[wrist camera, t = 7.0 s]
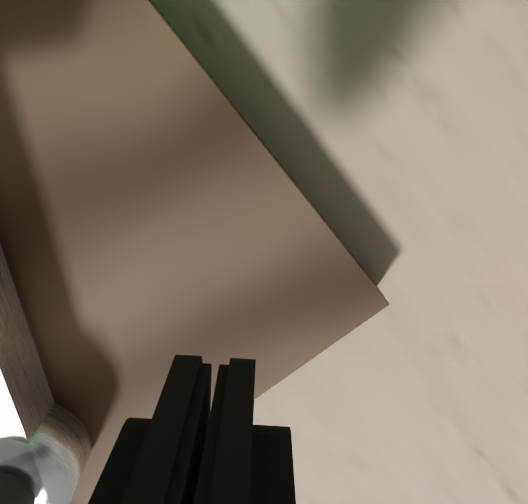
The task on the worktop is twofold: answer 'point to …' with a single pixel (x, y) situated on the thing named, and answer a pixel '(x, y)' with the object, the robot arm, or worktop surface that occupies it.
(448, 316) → the worktop surface
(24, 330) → the aluminium link
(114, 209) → the walnut board
